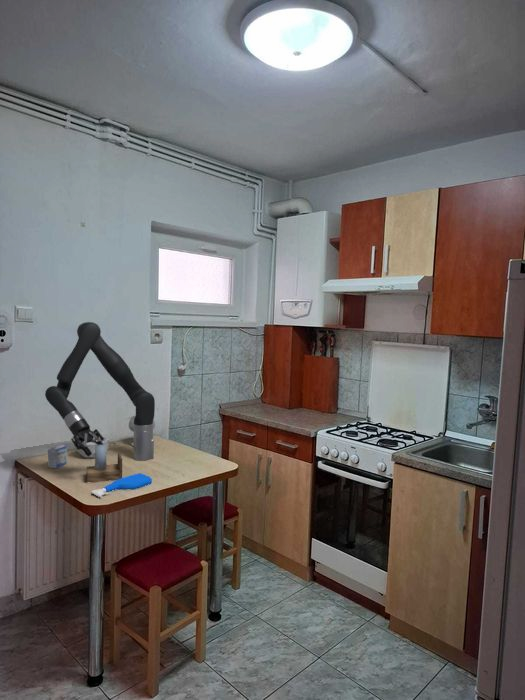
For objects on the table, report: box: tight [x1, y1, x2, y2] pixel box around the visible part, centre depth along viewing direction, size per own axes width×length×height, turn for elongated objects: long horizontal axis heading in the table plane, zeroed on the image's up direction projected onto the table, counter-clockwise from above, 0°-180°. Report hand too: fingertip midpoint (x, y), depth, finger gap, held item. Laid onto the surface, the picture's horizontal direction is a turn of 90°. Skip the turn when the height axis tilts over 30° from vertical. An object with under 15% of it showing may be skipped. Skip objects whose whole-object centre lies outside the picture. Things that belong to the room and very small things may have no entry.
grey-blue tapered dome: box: [94, 445, 107, 471], centre depth 204 cm, size 5×5×10 cm
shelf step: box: [86, 452, 123, 483], centre depth 205 cm, size 14×10×9 cm
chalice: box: [128, 415, 156, 447], centre depth 260 cm, size 14×14×15 cm
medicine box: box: [47, 444, 68, 469], centre depth 220 cm, size 8×4×9 cm, turn 168°
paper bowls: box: [76, 436, 110, 459], centre depth 237 cm, size 15×15×8 cm
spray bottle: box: [91, 472, 153, 498], centre depth 194 cm, size 3×11×24 cm
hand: (97, 452), depth 205 cm, fingers open, 8 cm apart
